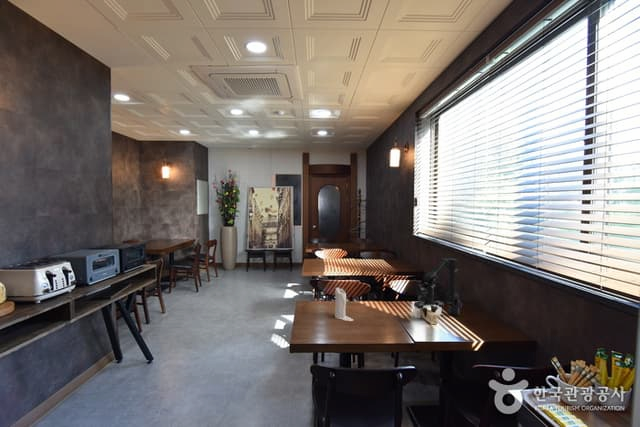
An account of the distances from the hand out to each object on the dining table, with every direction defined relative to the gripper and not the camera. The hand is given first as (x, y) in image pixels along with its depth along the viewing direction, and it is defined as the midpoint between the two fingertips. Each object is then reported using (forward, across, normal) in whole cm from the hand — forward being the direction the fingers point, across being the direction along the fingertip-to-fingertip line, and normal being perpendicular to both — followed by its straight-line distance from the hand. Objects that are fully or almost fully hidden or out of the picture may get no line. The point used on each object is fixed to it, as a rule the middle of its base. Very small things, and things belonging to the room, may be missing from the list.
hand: (428, 317), depth 213 cm
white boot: (+2, +55, -11) cm, 56 cm away
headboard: (+2, -4, -8) cm, 9 cm away
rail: (+2, 0, 0) cm, 2 cm away
